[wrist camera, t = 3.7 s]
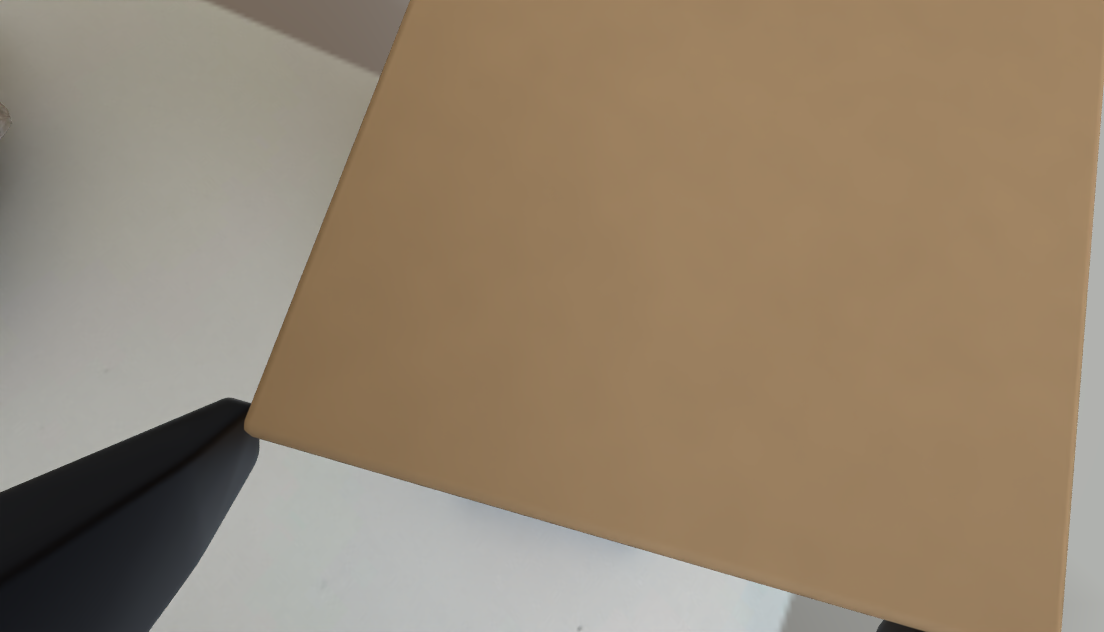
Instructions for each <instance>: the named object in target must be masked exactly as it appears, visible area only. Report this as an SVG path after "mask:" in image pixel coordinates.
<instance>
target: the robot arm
mask: <svg viewBox="0 0 1104 632" xmlns="http://www.w3.org/2000/svg"><path fill="white" fill-rule="evenodd" d="M250 406H251V403H248V402H245V401H241V400H238V399H234V398H224V399H221V400H219V401H217V402H214V403H212V404H209V405H207V406H205V407H202V408H200V409H198V410H195V411H193V412H190V413H188V414H186V415H183V416H181V417H179V418H176V419H174V420H171V421H169V422H167V423H164V424H162V425H159V426H157V427H155V428H152V429H150V430H148V431H145V432H143V433H140V434H138V435H136V436H133V437H131V438H129V439H126V440H124V441H121V442H119V443H117V444H114V445H112V446H110V447H107V448H105V449H102V450H100V451H98V452H95V453H93V454H91V455H88V456H86V457H83V458H81V459H79V460H76V461H74V462H72V463H69V464H67V465H64V466H62V467H60V468H57V469H55V470H52V471H50V472H48V473H45V474H43V475H41V476H38V477H36V478H33V479H31V480H29V481H26V482H24V483H22V484H19V485H17V486H14V487H12V488H10V489H7V490H5V491H3V492H0V632H149V630H150V629H151V628H152V626H153V625H154V623H155V622H156V621H157V619H158V618H159V617H160V615H161V614H162V612H163V611H164V610H165V608H166V607H167V606H168V604H169V603H170V601H171V600H172V599H173V597H174V596H175V595H176V593H177V592H178V590H179V589H180V588H181V586H182V585H183V584H184V582H185V581H186V579H187V578H188V577H189V575H190V574H191V572H192V571H193V569H194V568H195V566H196V565H197V564H198V562H199V560H200V559H201V557H202V555H203V554H204V552H205V551H206V549H207V547H208V546H209V544H210V542H211V540H212V539H213V537H214V535H215V533H216V532H217V530H218V528H219V526H220V525H221V523H222V521H223V519H224V518H225V516H226V514H227V512H228V511H229V509H230V507H231V505H232V504H233V502H234V500H235V499H236V497H237V495H238V493H239V492H240V490H241V488H242V486H243V485H244V483H245V481H246V479H247V478H248V476H249V474H250V472H251V471H252V469H253V467H254V465H255V463H256V461H257V458H258V454H259V438H256V437H252V436H251V435H249V434H248V433H247V432H246V431H245V430H244V421H245V418H246V416H247V413H248V411H249V408H250ZM877 632H925V631H922V630H918V629H915V628H911V627H908V626H904V625H901V624H897V623H894V622H891V621H887V620H883V621H882V623H881V624H880V625H879V627H878V629H877Z"/></svg>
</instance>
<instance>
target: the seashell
mask: <svg viewBox="0 0 1104 632" xmlns="http://www.w3.org/2000/svg"><path fill="white" fill-rule="evenodd" d="M11 124H12V121H11V118H10V115H9V111H8V109H7V108H6V107H5V106H4V105H3V104H2V103H1V102H0V139H1V138H2V137H3V136H4V135H5V133H6V132H7V130H8V129H9V127H10V126H11Z"/></svg>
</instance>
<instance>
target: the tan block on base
mask: <svg viewBox="0 0 1104 632" xmlns="http://www.w3.org/2000/svg"><path fill="white" fill-rule="evenodd" d="M1103 85H1104V0H410V2H409V5H408V7H407V10H406V12H405V15H404V17H403V20H402V22H401V25H400V27H399V30H398V33H397V35H396V38H395V40H394V43H393V45H392V48H391V50H390V53H389V55H388V58H387V61H386V63H385V66H384V68H383V71H382V73H381V76H380V78H379V81H378V83H377V86H376V88H375V91H374V93H373V96H372V99H371V101H370V104H369V106H368V109H367V111H366V114H365V116H364V119H363V121H362V124H361V126H360V129H359V132H358V134H357V137H356V139H355V142H354V144H353V147H352V149H351V152H350V154H349V157H348V159H347V162H346V165H345V167H344V170H343V172H342V175H341V177H340V180H339V182H338V185H337V187H336V190H335V192H334V195H333V198H332V200H331V203H330V205H329V208H328V210H327V213H326V215H325V218H324V220H323V223H322V225H321V228H320V231H319V233H318V236H317V238H316V241H315V243H314V246H313V248H312V251H311V253H310V256H309V258H308V261H307V264H306V266H305V269H304V271H303V274H302V276H301V279H300V281H299V284H298V286H297V289H296V291H295V294H294V297H293V299H292V302H291V304H290V307H289V309H288V312H287V314H286V317H285V319H284V322H283V324H282V327H281V329H280V332H279V335H278V337H277V340H276V342H275V345H274V347H273V350H272V352H271V355H270V357H269V360H268V362H267V365H266V368H265V370H264V373H263V375H262V378H261V380H260V383H259V385H258V388H257V390H256V393H255V395H254V398H253V401H252V403H251V406H250V408H249V411H248V413H247V416H246V418H245V421H244V430H245V431H246V432H247V433H248V434H249V435H251V436H252V437H256V438H259V439H263V440H266V441H269V442H273V443H276V444H280V445H283V446H287V447H290V448H294V449H297V450H300V451H304V452H307V453H311V454H314V455H318V456H321V457H325V458H328V459H332V460H335V461H338V462H342V463H345V464H349V465H352V466H356V467H359V468H363V469H366V470H370V471H373V472H376V473H380V474H383V475H387V476H390V477H394V478H397V479H401V480H404V481H407V482H411V483H414V484H418V485H421V486H425V487H428V488H432V489H435V490H439V491H442V492H445V493H449V494H452V495H456V496H459V497H463V498H466V499H470V500H473V501H476V502H480V503H483V504H487V505H490V506H494V507H497V508H501V509H504V510H508V511H511V512H514V513H518V514H521V515H525V516H528V517H532V518H535V519H539V520H542V521H546V522H549V523H552V524H556V525H559V526H563V527H566V528H570V529H573V530H577V531H580V532H583V533H587V534H590V535H594V536H597V537H601V538H604V539H608V540H611V541H615V542H618V543H621V544H625V545H628V546H632V547H635V548H639V549H642V550H646V551H649V552H652V553H656V554H659V555H663V556H666V557H670V558H673V559H677V560H680V561H684V562H687V563H690V564H694V565H697V566H701V567H704V568H708V569H711V570H715V571H718V572H721V573H725V574H728V575H732V576H735V577H739V578H742V579H746V580H749V581H753V582H756V583H759V584H763V585H766V586H770V587H773V588H777V589H780V590H784V591H787V592H791V593H794V594H797V595H801V596H804V597H808V598H811V599H815V600H818V601H822V602H825V603H828V604H832V605H836V606H839V607H842V608H846V609H849V610H853V611H856V612H860V613H863V614H866V615H870V616H874V617H877V618H881V619H884V620H887V621H891V622H894V623H897V624H901V625H904V626H908V627H911V628H915V629H918V630H922V631H925V632H1061V628H1062V615H1063V602H1064V589H1065V575H1066V562H1067V550H1068V536H1069V524H1070V510H1071V498H1072V486H1073V473H1074V460H1075V447H1076V434H1077V420H1078V407H1079V394H1080V382H1081V368H1082V356H1083V342H1084V329H1085V317H1086V304H1087V291H1088V290H1087V289H1088V278H1089V266H1090V253H1091V239H1092V227H1093V214H1094V213H1093V212H1094V201H1095V187H1096V175H1097V161H1098V149H1099V136H1100V122H1101V109H1102V96H1103Z"/></svg>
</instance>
